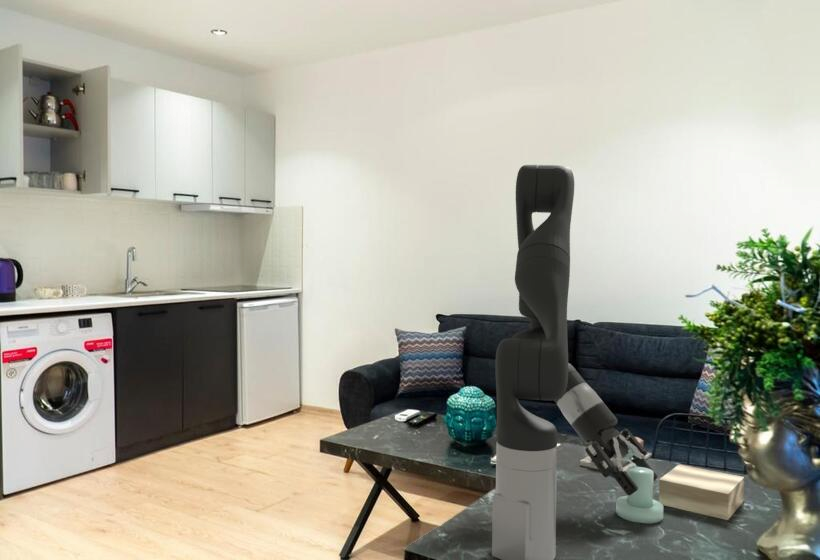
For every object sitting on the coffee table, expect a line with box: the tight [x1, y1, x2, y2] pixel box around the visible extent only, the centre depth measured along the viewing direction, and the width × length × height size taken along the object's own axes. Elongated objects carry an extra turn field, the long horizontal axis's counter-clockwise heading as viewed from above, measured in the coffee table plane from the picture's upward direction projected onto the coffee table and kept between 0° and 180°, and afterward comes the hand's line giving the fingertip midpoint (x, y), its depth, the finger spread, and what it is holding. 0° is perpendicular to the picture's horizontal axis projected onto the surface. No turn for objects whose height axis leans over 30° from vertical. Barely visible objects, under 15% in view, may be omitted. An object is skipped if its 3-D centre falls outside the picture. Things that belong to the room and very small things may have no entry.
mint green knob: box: [615, 466, 664, 524], centre depth 117 cm, size 8×8×8 cm
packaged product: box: [579, 436, 653, 473], centre depth 150 cm, size 18×5×10 cm
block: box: [658, 464, 745, 521], centre depth 124 cm, size 12×12×5 cm
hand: (644, 486), depth 117 cm, fingers open, 8 cm apart
